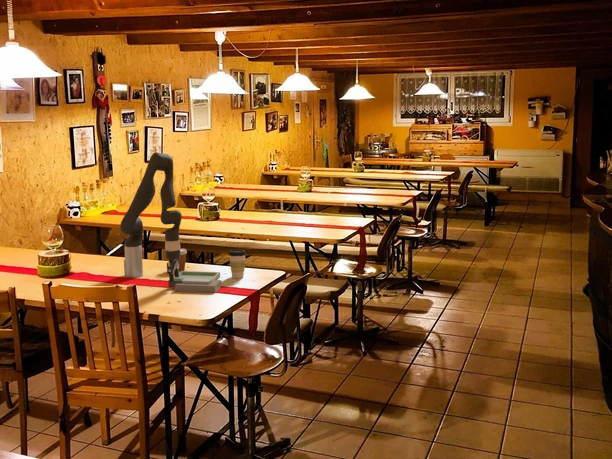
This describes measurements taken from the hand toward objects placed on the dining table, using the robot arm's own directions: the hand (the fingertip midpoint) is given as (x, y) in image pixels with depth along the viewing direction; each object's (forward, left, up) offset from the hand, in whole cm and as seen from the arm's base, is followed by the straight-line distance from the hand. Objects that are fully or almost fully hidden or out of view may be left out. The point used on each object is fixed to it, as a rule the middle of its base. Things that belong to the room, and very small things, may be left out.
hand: (174, 279), depth 325 cm
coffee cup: (+28, +26, -5) cm, 38 cm away
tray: (+7, +18, -5) cm, 20 cm away
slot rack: (+13, 0, -5) cm, 14 cm away
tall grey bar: (+8, 0, -5) cm, 9 cm away
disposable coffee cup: (-9, +37, -5) cm, 38 cm away
